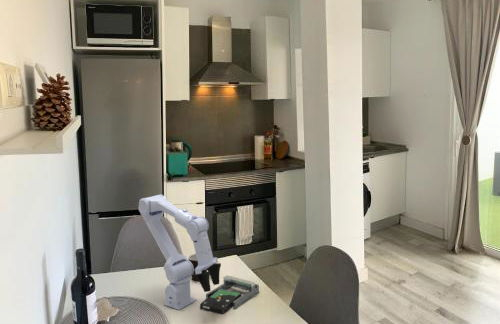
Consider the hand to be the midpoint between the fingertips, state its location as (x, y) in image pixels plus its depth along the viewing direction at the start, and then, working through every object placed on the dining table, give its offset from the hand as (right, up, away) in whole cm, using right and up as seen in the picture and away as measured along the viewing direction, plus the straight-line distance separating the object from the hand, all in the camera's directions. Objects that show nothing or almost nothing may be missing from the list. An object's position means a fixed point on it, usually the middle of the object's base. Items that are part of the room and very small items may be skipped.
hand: (212, 287), depth 149 cm
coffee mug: (-9, -6, +35) cm, 37 cm away
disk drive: (+3, -10, +10) cm, 14 cm away
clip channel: (+7, -8, +15) cm, 19 cm away
